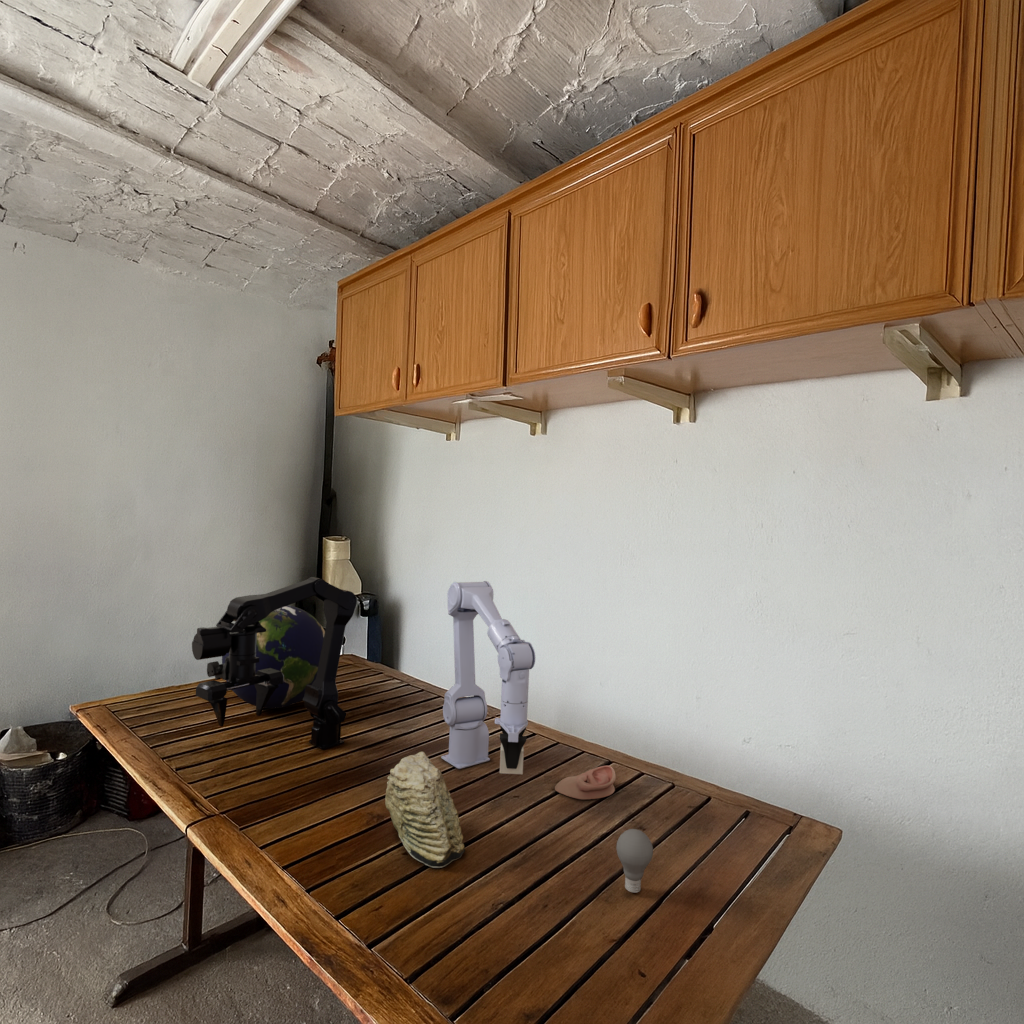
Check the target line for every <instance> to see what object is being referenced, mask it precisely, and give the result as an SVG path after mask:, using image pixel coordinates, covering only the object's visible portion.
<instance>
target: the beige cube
mask: <svg viewBox="0 0 1024 1024" xmlns="http://www.w3.org/2000/svg"><path fill="white" fill-rule="evenodd" d="M524 747H525V745H523V747H522V750H521V753H520V757H519V762H518V766H517V769H510V768H507V767H506V761H505V753H504V749H503V745H502V743H501V742H500V752H499V753H500V754H499V755H500V756H499V758H500V759H499V774H504V775H505V774H507V775H523V774H524V758H525V757H524V753H525V749H524Z"/></svg>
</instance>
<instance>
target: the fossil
mask: <svg viewBox="0 0 1024 1024" xmlns="http://www.w3.org/2000/svg"><path fill="white" fill-rule="evenodd" d="M389 773H390V774H389V775H388V776H387V780H388V781H387V782H386V789H385V798H384V800H385V802H384V804H385V807H386V810H387V811H388V812H389V814H390V815H389V816H390V818H391V822H392V825H393V827H394V828H395V830H396V831H397V833H398V834H397V835H398V838H399V839H400V842H402V845H403V847H404V848H405V850H406V851H407V853H408V854H409V855H410V856H411V857H412V858H413V859H415V860H416V861H418V862H420V863H422V864H423V865H424V866H428V867H430V868H433V869H440V868H441V869H442V868H444V867H447V866H448V865H450V864H451V863H452V862H453V861H457V860H459V859H461V857H462V856H463V854H464V853H465V852H466V848H465V844H464V835H463V833H462V826H461V820H460V817H459V812H458V809H457V808H456V806H455V803H454V799H453V798H452V795H451V792H450V791H449V789H448V787H447V783H446V781H445V778H444V775H443V773H442V770H441V769H440V768H437V767H436V766H435V764H434V763H433V762H432V760H431V759H430V758H429V757H428V756H427V754H426V753H425V752H424V751H419V752H417V753H416V754H410V755H408V756H405V757H403V758H401V759H400V761H399V762H398V763H397V764H396V765H395V766H394V768H390V771H389Z"/></svg>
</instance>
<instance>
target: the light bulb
mask: <svg viewBox="0 0 1024 1024" xmlns="http://www.w3.org/2000/svg"><path fill="white" fill-rule="evenodd" d="M615 849H616V854H617V857H618V859H619V861H620V863H621V865H622V867H623V873H624V874H623V875H624V876H625V878H624V888H625V890H627V891H628V892H630V893H634V894H635V893H639V892H640V891H641V889H642V887H641V886H642V879H643V877H644V875H645V871H646V868H647V867H648V866H649V864H650V863H651V861H652V859H653V855H654V847H653V843H652V841H651V838H649V836H648V835H647V834H646V833H645V832H643V831H642V830H641V829H636V828H629V829H627V830H625V831H623V832H622V833H621V834H620V835H619V837H618V839H617V841H616V847H615Z"/></svg>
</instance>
